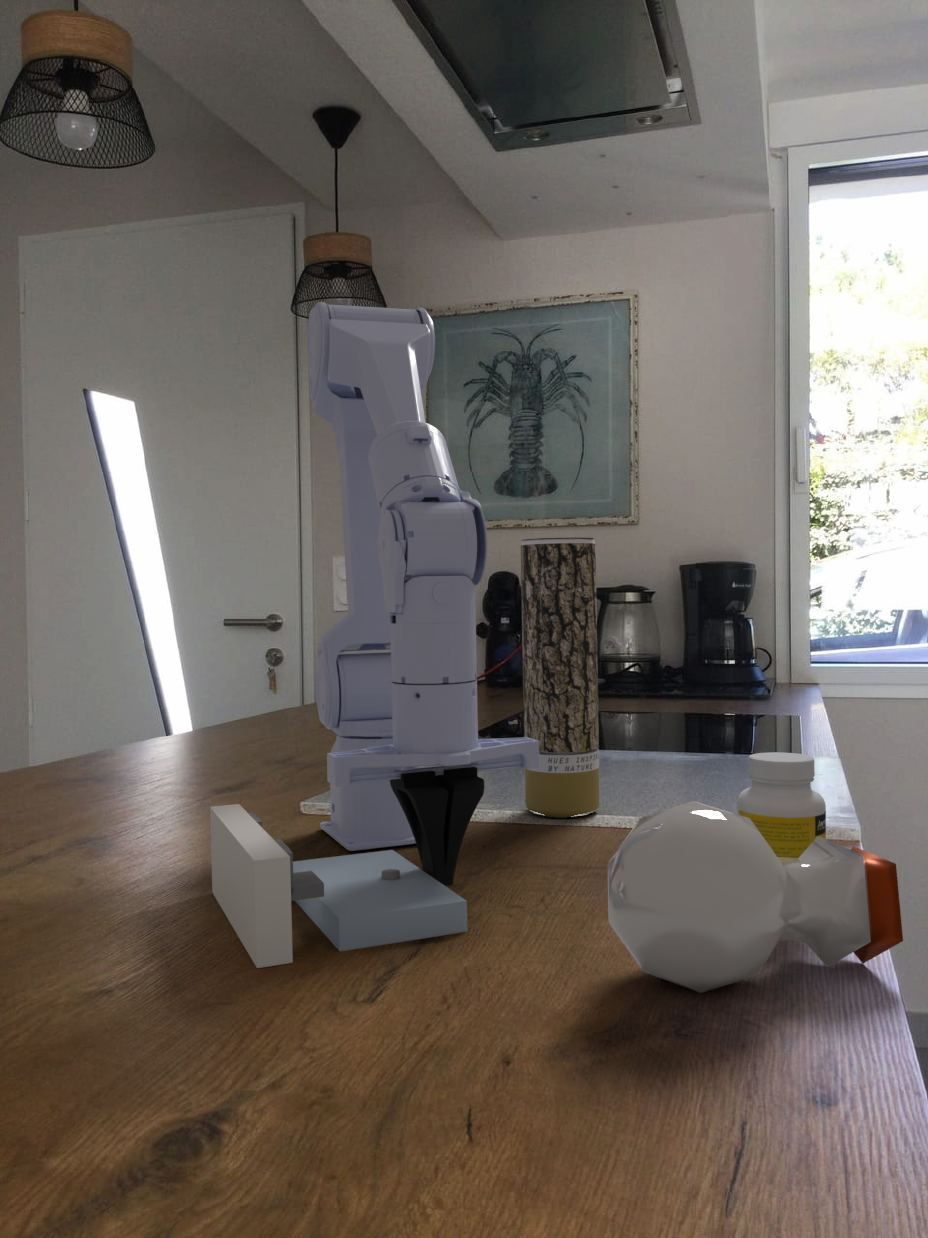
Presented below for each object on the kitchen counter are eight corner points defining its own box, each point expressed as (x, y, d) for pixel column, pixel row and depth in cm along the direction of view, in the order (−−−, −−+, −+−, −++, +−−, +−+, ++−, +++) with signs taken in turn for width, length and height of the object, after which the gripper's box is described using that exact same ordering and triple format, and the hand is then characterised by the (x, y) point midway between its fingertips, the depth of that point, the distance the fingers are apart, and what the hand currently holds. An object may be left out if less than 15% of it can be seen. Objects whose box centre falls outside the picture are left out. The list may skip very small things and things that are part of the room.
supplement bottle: (832, 926, 64) (831, 764, 63) (739, 922, 65) (738, 763, 65) (820, 899, 69) (819, 750, 69) (735, 896, 70) (733, 749, 70)
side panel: (212, 892, 73) (210, 806, 73) (275, 884, 75) (273, 800, 75) (257, 968, 58) (254, 860, 58) (334, 956, 60) (331, 851, 60)
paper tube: (612, 808, 98) (607, 538, 97) (579, 823, 92) (574, 536, 92) (547, 801, 102) (542, 541, 101) (511, 815, 96) (506, 539, 95)
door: (284, 896, 74) (284, 856, 74) (393, 882, 77) (392, 844, 77) (340, 960, 61) (339, 912, 61) (467, 940, 64) (466, 894, 64)
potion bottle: (588, 1009, 55) (843, 1013, 59) (659, 951, 48) (948, 959, 51) (570, 843, 61) (804, 855, 64) (631, 766, 53) (894, 784, 56)
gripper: (345, 692, 64) (351, 914, 65) (558, 679, 70) (562, 884, 70) (316, 683, 71) (321, 884, 71) (513, 672, 76) (516, 859, 77)
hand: (438, 882), depth 71 cm, fingers closed
